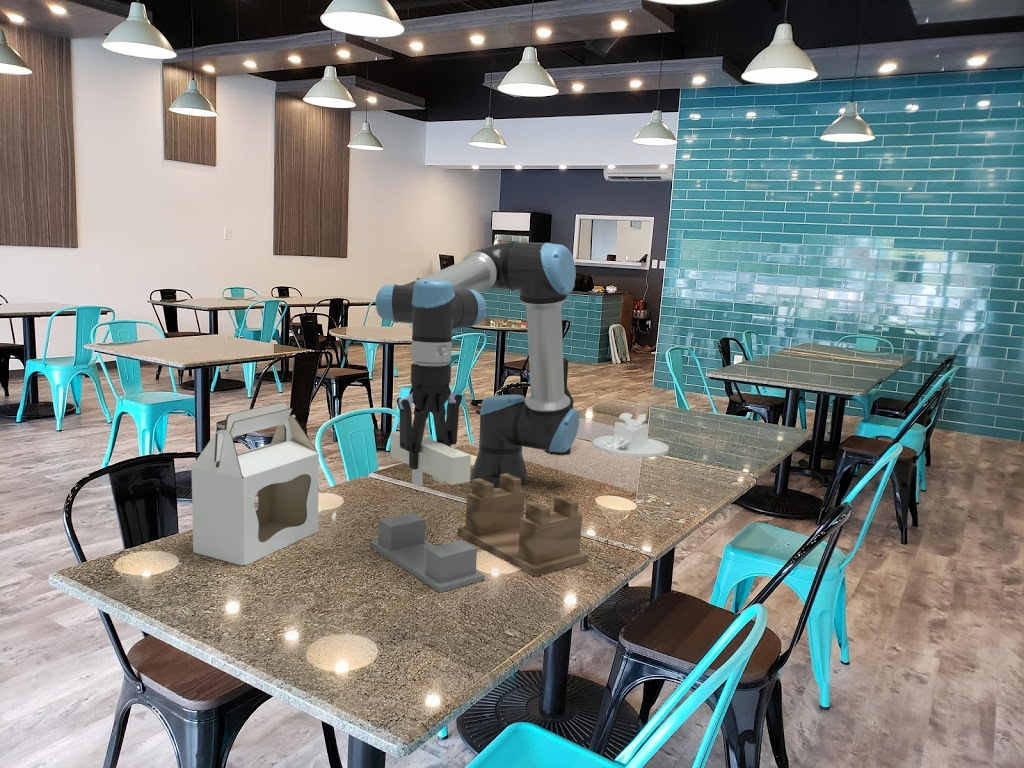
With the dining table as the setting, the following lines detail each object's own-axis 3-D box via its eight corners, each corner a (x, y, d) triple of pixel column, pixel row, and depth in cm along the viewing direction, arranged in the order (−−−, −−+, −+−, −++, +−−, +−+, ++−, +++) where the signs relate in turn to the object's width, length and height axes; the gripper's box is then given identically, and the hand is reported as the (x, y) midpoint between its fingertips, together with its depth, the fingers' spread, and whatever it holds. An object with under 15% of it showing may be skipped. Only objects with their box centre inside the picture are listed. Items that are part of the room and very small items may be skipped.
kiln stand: (370, 546, 156) (370, 518, 155) (412, 536, 163) (412, 509, 162) (439, 592, 137) (441, 561, 136) (484, 580, 143) (486, 549, 142)
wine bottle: (563, 456, 235) (568, 360, 230) (539, 452, 239) (544, 357, 234) (575, 451, 242) (581, 358, 237) (552, 447, 246) (557, 355, 241)
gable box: (243, 567, 143) (241, 422, 139) (191, 553, 149) (188, 412, 144) (319, 531, 163) (320, 403, 159) (271, 520, 169) (271, 395, 164)
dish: (593, 436, 265) (595, 404, 263) (666, 442, 262) (668, 410, 260) (591, 454, 241) (593, 419, 239) (671, 460, 238) (674, 425, 236)
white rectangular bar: (390, 456, 154) (390, 432, 153) (407, 453, 156) (408, 430, 155) (451, 484, 137) (452, 457, 136) (469, 481, 139) (470, 455, 139)
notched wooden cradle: (457, 534, 165) (459, 479, 163) (508, 523, 174) (510, 470, 172) (535, 577, 145) (538, 514, 143) (587, 561, 154) (591, 502, 152)
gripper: (401, 368, 135) (399, 495, 139) (479, 363, 146) (474, 481, 149) (381, 362, 141) (378, 484, 145) (457, 358, 151) (453, 471, 155)
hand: (427, 482), depth 147 cm, fingers closed on white rectangular bar, 4 cm apart
